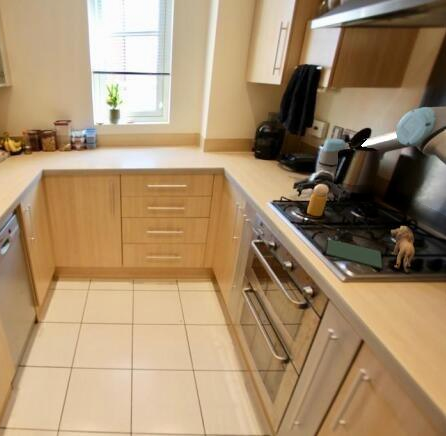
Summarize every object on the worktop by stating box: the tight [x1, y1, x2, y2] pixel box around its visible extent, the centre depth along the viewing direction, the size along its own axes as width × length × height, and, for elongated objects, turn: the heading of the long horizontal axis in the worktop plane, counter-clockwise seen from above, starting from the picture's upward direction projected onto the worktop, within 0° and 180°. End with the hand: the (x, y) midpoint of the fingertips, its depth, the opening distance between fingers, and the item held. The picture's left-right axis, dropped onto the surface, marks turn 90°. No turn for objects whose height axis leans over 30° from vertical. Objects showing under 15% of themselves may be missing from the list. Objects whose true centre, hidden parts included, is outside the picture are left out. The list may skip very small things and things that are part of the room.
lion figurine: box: [390, 225, 415, 273], centre depth 94 cm, size 15×5×9 cm, turn 156°
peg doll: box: [306, 184, 330, 217], centre depth 121 cm, size 5×5×12 cm
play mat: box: [325, 239, 383, 270], centre depth 99 cm, size 14×10×1 cm
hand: (318, 197), depth 124 cm, fingers open, 13 cm apart
